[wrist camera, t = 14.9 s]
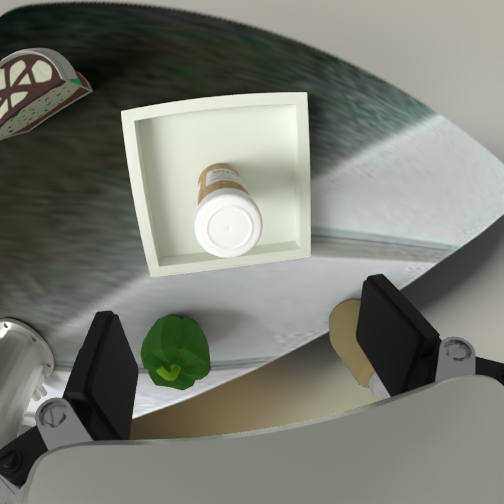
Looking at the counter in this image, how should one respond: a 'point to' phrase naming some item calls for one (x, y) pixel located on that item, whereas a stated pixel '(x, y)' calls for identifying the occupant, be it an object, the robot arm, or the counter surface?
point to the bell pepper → (176, 352)
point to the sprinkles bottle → (226, 213)
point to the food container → (36, 89)
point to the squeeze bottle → (353, 346)
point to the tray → (228, 152)
